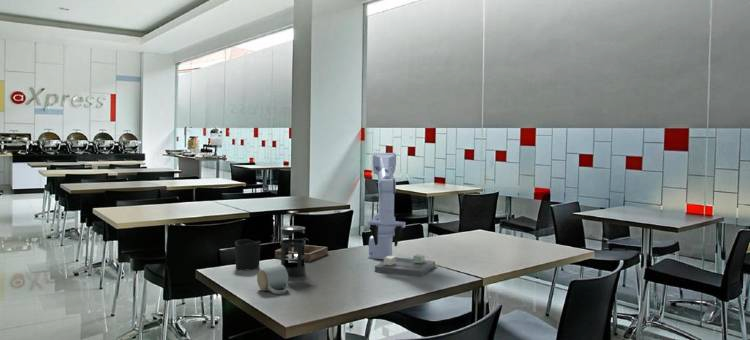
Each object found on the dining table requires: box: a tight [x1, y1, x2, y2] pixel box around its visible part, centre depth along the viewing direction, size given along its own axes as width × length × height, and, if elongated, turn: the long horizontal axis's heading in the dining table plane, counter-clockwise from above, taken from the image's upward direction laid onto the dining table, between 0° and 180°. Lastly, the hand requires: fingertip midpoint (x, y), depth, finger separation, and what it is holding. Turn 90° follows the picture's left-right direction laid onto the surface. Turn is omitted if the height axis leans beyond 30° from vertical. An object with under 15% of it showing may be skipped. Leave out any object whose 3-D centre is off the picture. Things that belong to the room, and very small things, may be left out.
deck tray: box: [274, 244, 329, 262], centre depth 233 cm, size 16×16×3 cm
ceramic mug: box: [256, 264, 289, 295], centre depth 180 cm, size 11×8×8 cm
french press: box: [280, 210, 307, 278], centre depth 202 cm, size 12×9×23 cm
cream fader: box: [383, 256, 397, 265], centre depth 210 cm, size 3×4×2 cm, turn 158°
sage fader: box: [412, 253, 426, 263], centre depth 214 cm, size 3×4×2 cm, turn 158°
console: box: [374, 256, 436, 278], centre depth 212 cm, size 18×18×2 cm
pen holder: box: [234, 239, 261, 271], centre depth 211 cm, size 9×9×10 cm
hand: (386, 245), depth 213 cm, fingers open, 7 cm apart
